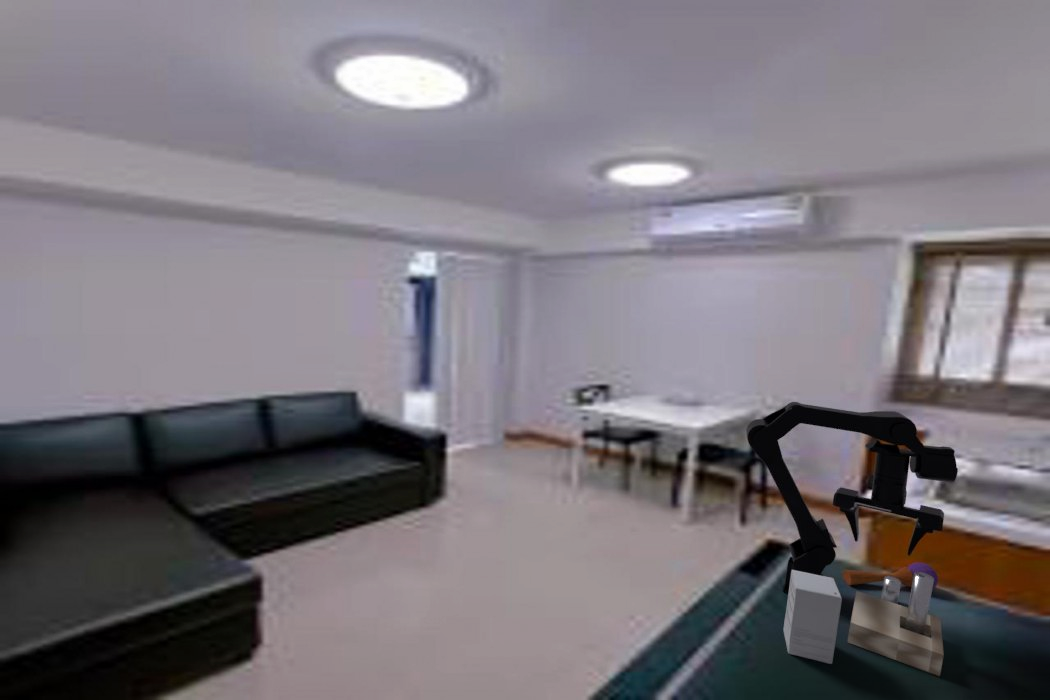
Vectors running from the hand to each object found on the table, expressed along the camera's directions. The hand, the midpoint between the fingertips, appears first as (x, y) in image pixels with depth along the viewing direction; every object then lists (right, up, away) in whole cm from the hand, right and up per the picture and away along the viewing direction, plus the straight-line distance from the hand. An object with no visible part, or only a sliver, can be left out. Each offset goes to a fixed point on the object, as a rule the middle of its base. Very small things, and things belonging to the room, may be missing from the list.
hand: (882, 547), depth 116 cm
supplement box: (-22, -14, -14) cm, 29 cm away
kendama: (+9, -13, +11) cm, 19 cm away
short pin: (+4, -13, +4) cm, 15 cm away
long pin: (-1, -15, -11) cm, 18 cm away
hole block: (-4, -14, -9) cm, 17 cm away
